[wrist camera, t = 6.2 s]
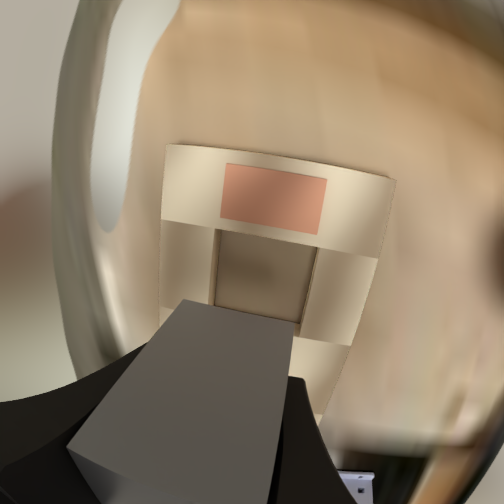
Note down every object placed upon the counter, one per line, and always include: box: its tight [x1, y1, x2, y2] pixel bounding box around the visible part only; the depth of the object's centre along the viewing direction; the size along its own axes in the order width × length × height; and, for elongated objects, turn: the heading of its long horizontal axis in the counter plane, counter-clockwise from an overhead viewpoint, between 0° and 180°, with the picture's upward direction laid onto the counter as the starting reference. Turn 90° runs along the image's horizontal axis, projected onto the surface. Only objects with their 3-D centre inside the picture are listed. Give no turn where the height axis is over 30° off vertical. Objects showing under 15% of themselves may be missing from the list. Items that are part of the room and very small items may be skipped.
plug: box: [66, 299, 295, 504], centre depth 8 cm, size 4×4×7 cm
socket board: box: [159, 144, 396, 426], centre depth 20 cm, size 12×26×2 cm, turn 173°
